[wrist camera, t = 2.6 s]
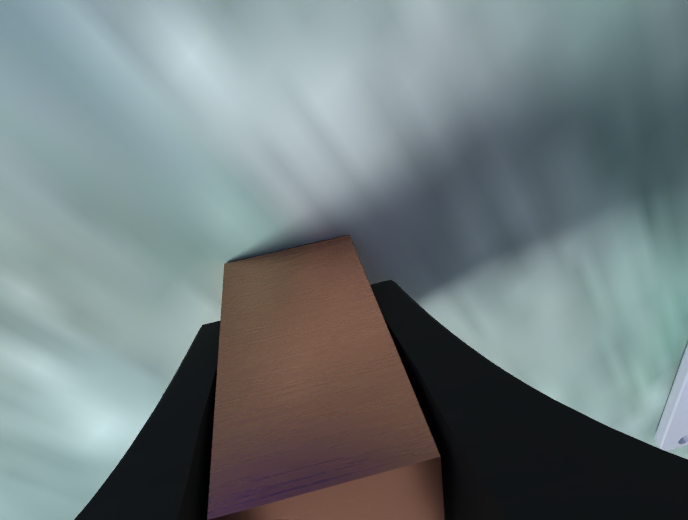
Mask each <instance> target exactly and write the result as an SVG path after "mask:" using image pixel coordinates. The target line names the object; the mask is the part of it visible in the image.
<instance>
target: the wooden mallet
mask: <svg viewBox="0 0 688 520" xmlns="http://www.w3.org/2000/svg"><path fill="white" fill-rule="evenodd" d="M207 520H445V518H444V502H443V487H442V471H441V457H440V454H439V452H438V449H437V447H436V444H435V442H434V439H433V437H432V435H431V432H430V430H429V427H428V425H427V422H426V420H425V418H424V415H423V413H422V410H421V408H420V405H419V403H418V401H417V398H416V396H415V393H414V391H413V388H412V386H411V384H410V381H409V379H408V376H407V374H406V371H405V369H404V367H403V364H402V362H401V359H400V357H399V354H398V352H397V349H396V347H395V345H394V342H393V340H392V337H391V335H390V332H389V330H388V328H387V325H386V323H385V320H384V318H383V315H382V313H381V311H380V308H379V306H378V303H377V301H376V298H375V296H374V294H373V291H372V289H371V286H370V284H369V281H368V279H367V277H366V274H365V272H364V269H363V267H362V264H361V262H360V259H359V257H358V255H357V252H356V250H355V247H354V245H353V242H352V240H351V238H350V235H347V236H342V237H338V238H334V239H329V240H325V241H321V242H316V243H312V244H308V245H303V246H299V247H295V248H290V249H286V250H282V251H278V252H273V253H269V254H265V255H260V256H256V257H252V258H247V259H243V260H239V261H234V262H230V263H226V264H224V277H223V292H222V307H221V322H220V336H219V351H218V366H217V381H216V396H215V411H214V425H213V440H212V455H211V470H210V485H209V500H208V515H207Z"/></svg>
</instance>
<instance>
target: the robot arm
mask: <svg viewBox="0 0 688 520" xmlns="http://www.w3.org/2000/svg"><path fill="white" fill-rule="evenodd" d="M370 286H371V289H372V291H373V294H374V296H375V298H376V301H377V303H378V306H379V308H380V311H381V313H382V315H383V318H384V320H385V323H386V325H387V328H388V330H389V332H390V335H391V337H392V340H393V342H394V345H395V347H396V349H397V352H398V354H399V357H400V359H401V362H402V364H403V367H404V369H405V371H406V374H407V376H408V379H409V381H410V384H411V386H412V388H413V391H414V393H415V396H416V398H417V401H418V403H419V405H420V408H421V410H422V413H423V415H424V418H425V420H426V422H427V425H428V427H429V430H430V432H431V435H432V437H433V439H434V442H435V444H436V447H437V449H438V452H439V454H440V457H441V471H442V487H443V502H444V518H445V520H688V459H685V458H682V457H680V456H677V455H674V454H671V453H669V452H666V451H667V450H672V449H675V448H679V447H682V446H686V445H688V344H687V347H686V350H685V353H684V355H683V358H682V361H681V364H680V367H679V369H678V372H677V375H676V378H675V381H674V384H673V386H672V389H671V392H670V395H669V398H668V401H667V403H666V406H665V409H664V412H663V415H662V417H661V420H660V423H659V426H658V429H657V432H656V434H655V437H654V442H655V443H656V444H657V445H658V446H659V447H660V449H659V448H656V447H654V446H652V445H649V444H647V443H645V442H642V441H640V440H638V439H635V438H633V437H631V436H629V435H626V434H624V433H622V432H619V431H617V430H615V429H612V428H610V427H608V426H606V425H604V424H602V423H600V422H598V421H596V420H594V419H592V418H590V417H588V416H586V415H584V414H582V413H580V412H578V411H576V410H574V409H572V408H570V407H568V406H566V405H564V404H562V403H560V402H558V401H556V400H554V399H552V398H550V397H548V396H547V395H545V394H543V393H541V392H539V391H538V390H536V389H534V388H532V387H531V386H529V385H527V384H526V383H524V382H522V381H521V380H519V379H517V378H516V377H514V376H512V375H511V374H509V373H508V372H506V371H504V370H503V369H501V368H500V367H498V366H497V365H495V364H494V363H492V362H491V361H489V360H488V359H486V358H485V357H484V356H482V355H481V354H479V353H478V352H477V351H475V350H474V349H472V348H471V347H470V346H468V345H467V344H466V343H464V342H463V341H462V340H460V339H459V338H458V337H456V336H455V335H454V334H453V333H451V332H450V331H449V330H448V329H446V328H445V327H444V326H443V325H441V324H440V323H439V322H438V321H437V320H435V319H434V318H433V317H432V316H431V315H429V314H428V313H427V312H426V311H425V310H424V309H423V308H422V307H420V306H419V305H418V304H417V303H416V302H415V301H414V300H413V299H412V298H411V297H410V296H409V295H407V294H406V293H405V292H404V291H403V290H402V289H401V288H400V287H399V286H398V285H397V284H396V283H395V282H394V281H392V280H388V281H384V282H380V283H376V284H371V285H370ZM220 322H221V321H217V322H213V323H209V324H205V325H202V327H201V328H200V330H199V331H198V333H197V335H196V337H195V339H194V341H193V342H192V344H191V346H190V348H189V350H188V352H187V354H186V356H185V357H184V359H183V361H182V363H181V365H180V367H179V368H178V370H177V372H176V374H175V376H174V377H173V379H172V381H171V382H170V384H169V386H168V388H167V389H166V391H165V393H164V394H163V396H162V398H161V399H160V401H159V403H158V405H157V406H156V408H155V409H154V411H153V413H152V414H151V416H150V417H149V419H148V420H147V422H146V423H145V425H144V426H143V428H142V430H141V431H140V433H139V434H138V436H137V437H136V439H135V440H134V442H133V443H132V445H131V446H130V448H129V449H128V451H127V452H126V454H125V455H124V456H123V458H122V459H121V461H120V462H119V463H118V465H117V466H116V468H115V469H114V470H113V472H112V473H111V474H110V476H109V477H108V478H107V480H106V481H105V482H104V484H103V485H102V486H101V488H100V489H99V490H98V492H97V493H96V494H95V495H94V497H93V498H92V499H91V500H90V502H89V503H88V504H87V505H86V507H85V508H84V509H83V510H82V511H81V513H80V514H79V515H78V516H77V517H76V518H75V520H207V515H208V500H209V485H210V470H211V455H212V440H213V425H214V411H215V396H216V381H217V366H218V351H219V336H220ZM664 450H666V451H664Z"/></svg>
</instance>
